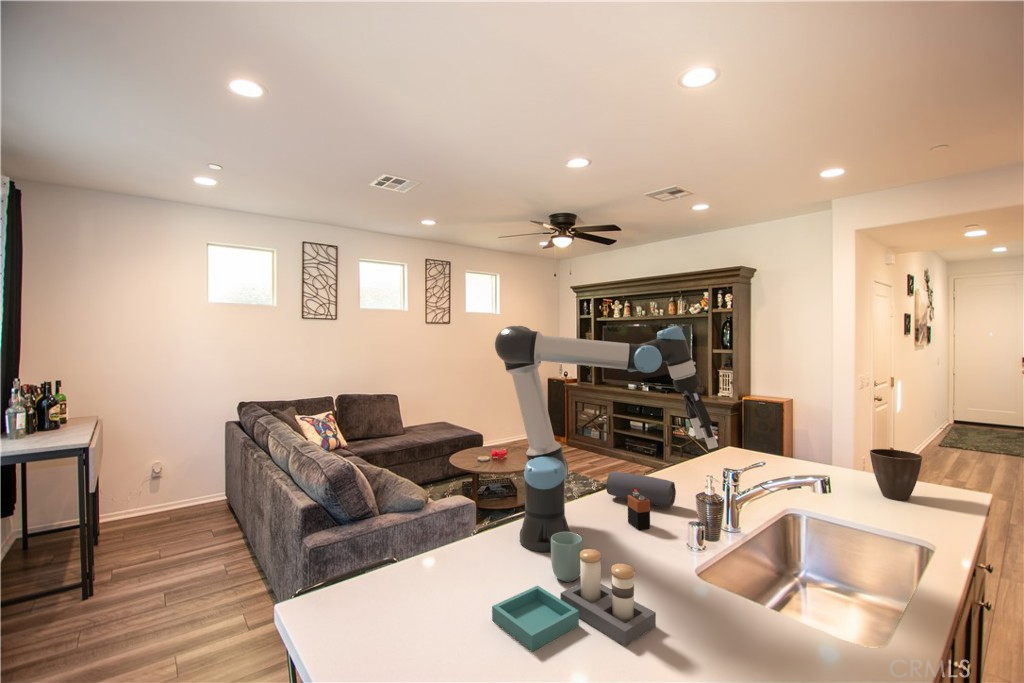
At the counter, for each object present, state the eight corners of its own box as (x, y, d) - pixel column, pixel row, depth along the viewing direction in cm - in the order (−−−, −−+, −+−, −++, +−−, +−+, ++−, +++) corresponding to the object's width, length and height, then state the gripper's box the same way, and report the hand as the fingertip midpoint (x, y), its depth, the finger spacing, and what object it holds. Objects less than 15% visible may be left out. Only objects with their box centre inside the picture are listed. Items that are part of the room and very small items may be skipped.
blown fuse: (607, 624, 100) (606, 568, 100) (621, 616, 103) (620, 561, 103) (625, 635, 96) (624, 577, 96) (639, 626, 99) (638, 569, 99)
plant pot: (859, 491, 180) (859, 449, 180) (895, 489, 182) (895, 447, 181) (895, 505, 165) (895, 459, 165) (933, 503, 167) (934, 458, 167)
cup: (562, 588, 114) (562, 547, 114) (545, 574, 121) (545, 535, 121) (588, 580, 118) (588, 540, 118) (570, 567, 125) (570, 529, 125)
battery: (639, 521, 155) (638, 490, 154) (650, 529, 148) (650, 497, 148) (627, 522, 153) (626, 491, 153) (638, 531, 147) (638, 498, 147)
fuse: (576, 606, 107) (575, 553, 107) (590, 598, 110) (589, 547, 110) (591, 615, 104) (591, 560, 103) (605, 607, 106) (605, 554, 106)
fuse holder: (560, 606, 107) (560, 592, 107) (590, 590, 113) (590, 578, 113) (625, 646, 93) (625, 631, 93) (655, 626, 99) (655, 612, 99)
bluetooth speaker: (605, 500, 173) (605, 473, 173) (615, 493, 181) (615, 467, 181) (668, 513, 160) (668, 484, 160) (676, 505, 168) (676, 477, 168)
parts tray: (492, 620, 102) (492, 606, 102) (537, 598, 110) (537, 585, 110) (532, 651, 92) (531, 635, 92) (578, 625, 100) (578, 610, 100)
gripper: (707, 375, 133) (732, 448, 132) (687, 369, 158) (707, 431, 157) (681, 383, 134) (705, 456, 133) (664, 376, 159) (685, 437, 158)
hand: (707, 442), depth 145 cm, fingers open, 13 cm apart
